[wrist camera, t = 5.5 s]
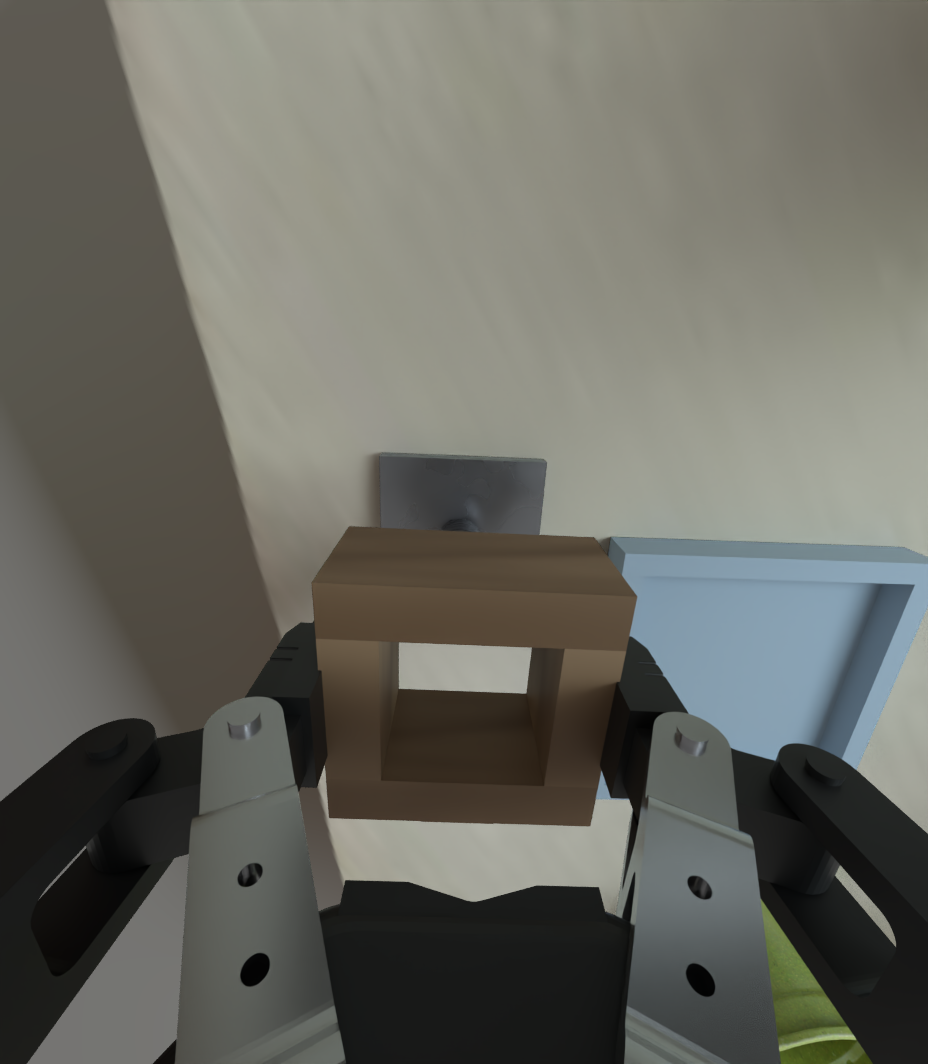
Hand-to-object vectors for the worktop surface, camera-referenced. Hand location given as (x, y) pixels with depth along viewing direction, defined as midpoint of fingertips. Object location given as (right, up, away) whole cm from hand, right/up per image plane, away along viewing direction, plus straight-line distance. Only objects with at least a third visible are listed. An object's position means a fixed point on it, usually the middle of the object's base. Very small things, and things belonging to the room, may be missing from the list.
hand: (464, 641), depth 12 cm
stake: (0, +3, +9) cm, 9 cm away
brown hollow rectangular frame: (0, 0, 0) cm, 0 cm away
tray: (+14, -4, +12) cm, 18 cm away
